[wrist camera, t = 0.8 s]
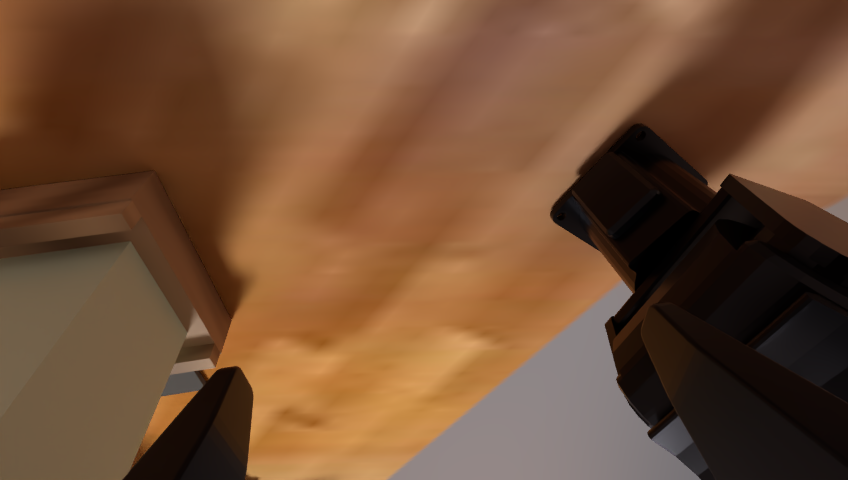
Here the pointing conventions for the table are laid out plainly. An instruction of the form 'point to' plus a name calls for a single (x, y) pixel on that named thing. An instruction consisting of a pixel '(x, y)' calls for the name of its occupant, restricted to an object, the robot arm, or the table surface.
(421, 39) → the table surface
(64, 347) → the block
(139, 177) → the brown tray
